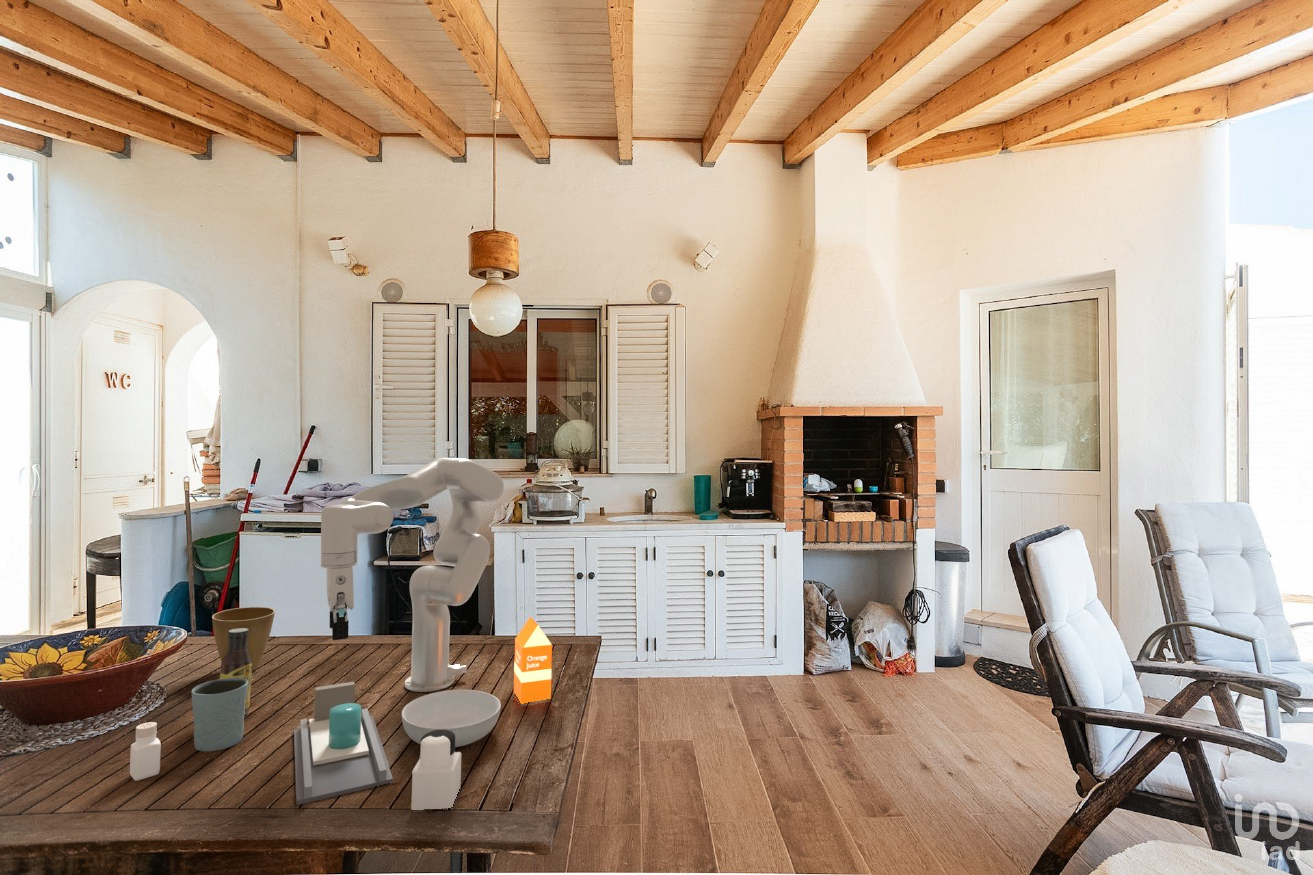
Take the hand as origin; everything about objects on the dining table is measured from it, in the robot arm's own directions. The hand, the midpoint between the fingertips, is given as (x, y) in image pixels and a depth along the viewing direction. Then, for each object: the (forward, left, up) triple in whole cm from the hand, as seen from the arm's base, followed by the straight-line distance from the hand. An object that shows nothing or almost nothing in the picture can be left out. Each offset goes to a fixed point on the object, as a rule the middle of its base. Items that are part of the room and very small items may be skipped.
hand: (338, 632), depth 147 cm
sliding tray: (0, +10, -21) cm, 23 cm away
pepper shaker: (+33, +8, -21) cm, 40 cm away
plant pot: (+20, -50, -21) cm, 58 cm away
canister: (-1, +15, -19) cm, 24 cm away
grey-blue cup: (+22, -2, -21) cm, 31 cm away
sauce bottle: (+20, -16, -21) cm, 33 cm away
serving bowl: (-22, +19, -21) cm, 36 cm away
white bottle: (-14, +43, -21) cm, 50 cm away
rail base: (0, +17, -21) cm, 27 cm away
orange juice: (-45, +6, -21) cm, 50 cm away
